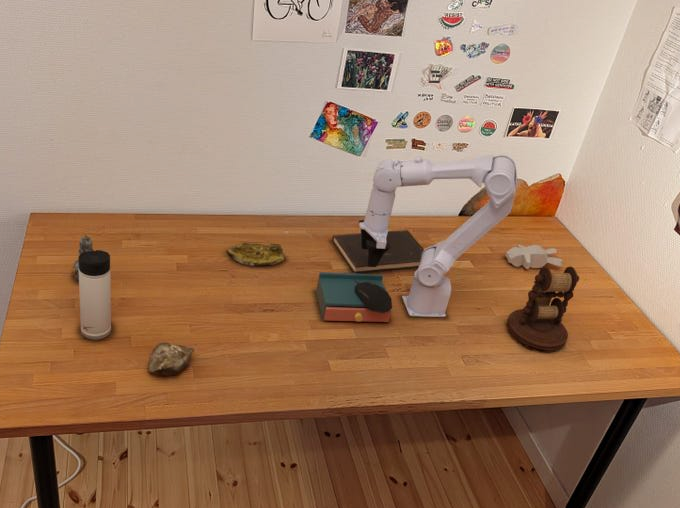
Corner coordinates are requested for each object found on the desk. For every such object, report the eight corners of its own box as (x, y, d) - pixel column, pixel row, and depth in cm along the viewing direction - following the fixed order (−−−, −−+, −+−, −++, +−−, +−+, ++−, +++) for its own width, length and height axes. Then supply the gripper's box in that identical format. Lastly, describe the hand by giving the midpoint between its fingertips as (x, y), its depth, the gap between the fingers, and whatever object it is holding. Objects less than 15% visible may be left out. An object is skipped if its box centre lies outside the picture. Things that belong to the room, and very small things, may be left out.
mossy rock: (226, 267, 190) (284, 270, 193) (227, 253, 187) (286, 257, 190) (226, 244, 197) (282, 248, 200) (227, 230, 194) (284, 234, 197)
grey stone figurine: (68, 279, 175) (66, 236, 168) (84, 267, 180) (82, 225, 173) (89, 287, 174) (88, 244, 167) (104, 275, 178) (104, 233, 172)
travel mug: (85, 343, 157) (82, 265, 146) (77, 325, 162) (74, 248, 151) (114, 338, 160) (114, 261, 149) (106, 319, 165) (106, 244, 154)
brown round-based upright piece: (547, 316, 192) (573, 251, 181) (575, 354, 180) (605, 287, 169) (495, 316, 188) (519, 250, 177) (520, 355, 176) (547, 287, 165)
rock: (160, 380, 148) (202, 370, 155) (156, 347, 148) (199, 338, 155) (141, 376, 154) (183, 366, 161) (138, 344, 153) (180, 336, 160)
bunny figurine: (504, 240, 213) (555, 240, 214) (501, 255, 216) (551, 255, 217) (513, 259, 205) (566, 258, 206) (510, 274, 208) (562, 273, 209)
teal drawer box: (377, 294, 189) (382, 274, 185) (387, 321, 180) (392, 301, 176) (315, 292, 185) (319, 271, 182) (322, 319, 176) (326, 299, 173)
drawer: (379, 295, 187) (381, 284, 185) (389, 325, 177) (392, 313, 176) (317, 293, 184) (319, 282, 182) (324, 323, 174) (327, 312, 172)
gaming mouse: (364, 277, 185) (367, 264, 183) (396, 312, 175) (400, 298, 173) (342, 281, 182) (345, 267, 180) (374, 317, 172) (377, 303, 170)
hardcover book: (430, 266, 203) (432, 259, 202) (353, 273, 195) (355, 266, 194) (405, 235, 215) (406, 228, 214) (331, 241, 207) (333, 233, 206)
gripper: (357, 193, 181) (347, 240, 188) (369, 224, 169) (358, 273, 176) (385, 195, 182) (374, 241, 189) (399, 226, 170) (387, 274, 178)
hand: (368, 257), depth 183 cm, fingers open, 7 cm apart
